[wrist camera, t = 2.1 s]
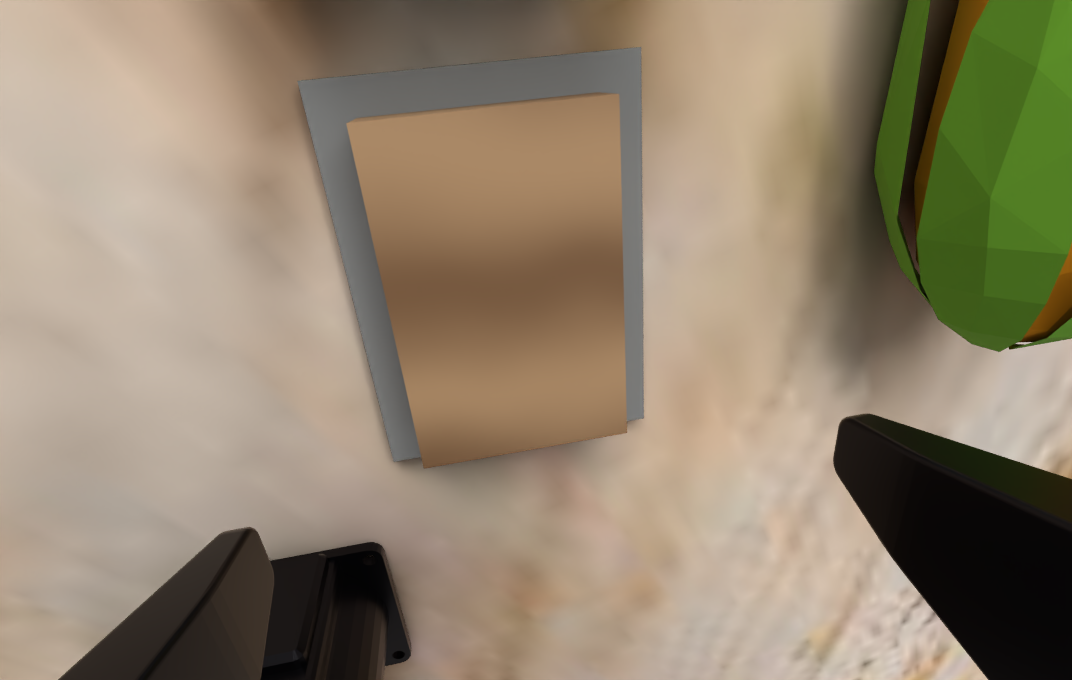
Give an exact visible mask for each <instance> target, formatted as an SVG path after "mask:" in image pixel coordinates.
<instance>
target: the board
mask: <svg viewBox="0 0 1072 680" xmlns="http://www.w3.org/2000/svg"><path fill="white" fill-rule="evenodd" d="M346 124H347V129H348V133H349V138H350V142H351V147H352V151H353V156H354V160H355V164H356V169H357V173H358V178H359V182H360V187H361V191H362V196H363V200H364V204H365V209H366V213H367V218H368V222H369V227H370V231H371V236H372V240H373V245H374V249H375V253H376V258H377V262H378V267H379V271H380V276H381V280H382V285H383V289H384V293H385V298H386V302H387V307H388V311H389V316H390V320H391V325H392V329H393V334H394V338H395V342H396V347H397V351H398V356H399V360H400V365H401V369H402V374H403V378H404V382H405V387H406V391H407V396H408V400H409V405H410V409H411V414H412V418H413V422H414V427H415V431H416V436H417V440H418V445H419V449H420V454H421V458H422V463H423V467H424V468H430V467H436V466H441V465H447V464H453V463H458V462H464V461H470V460H475V459H481V458H487V457H493V456H498V455H504V454H510V453H515V452H521V451H527V450H532V449H538V448H544V447H549V446H555V445H561V444H566V443H572V442H578V441H583V440H589V439H595V438H600V437H606V436H612V435H617V434H623V433H627V409H626V365H625V321H624V278H623V234H622V190H621V147H620V103H619V94H614V93H601V92H596V93H586V94H577V95H567V96H558V97H549V98H539V99H530V100H521V101H511V102H502V103H493V104H483V105H474V106H464V107H455V108H446V109H436V110H427V111H418V112H408V113H399V114H390V115H380V116H371V117H362V118H356V119H354V120H352V121H350V122H348V123H346Z"/></svg>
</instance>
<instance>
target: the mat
mask: <svg viewBox="0 0 1072 680" xmlns="http://www.w3.org/2000/svg"><path fill="white" fill-rule="evenodd" d="M298 85H299V89H300V93H301V97H302V101H303V105H304V109H305V113H306V117H307V121H308V125H309V129H310V133H311V136H312V140H313V144H314V148H315V152H316V156H317V160H318V164H319V168H320V172H321V176H322V180H323V184H324V188H325V192H326V196H327V200H328V204H329V208H330V212H331V216H332V220H333V223H334V227H335V231H336V235H337V239H338V243H339V247H340V251H341V255H342V259H343V263H344V267H345V271H346V275H347V279H348V283H349V287H350V291H351V295H352V299H353V303H354V307H355V310H356V314H357V318H358V322H359V326H360V330H361V334H362V338H363V342H364V346H365V350H366V354H367V358H368V362H369V366H370V370H371V374H372V378H373V382H374V386H375V390H376V394H377V398H378V401H379V405H380V409H381V413H382V417H383V421H384V425H385V429H386V433H387V437H388V441H389V445H390V449H391V453H392V457H393V461H394V462H395V461H401V460H407V459H413V458H418V457H421V454H420V449H419V445H418V440H417V436H416V431H415V427H414V422H413V418H412V414H411V409H410V405H409V400H408V396H407V391H406V387H405V382H404V378H403V374H402V369H401V365H400V360H399V356H398V351H397V347H396V342H395V338H394V334H393V329H392V325H391V320H390V316H389V311H388V307H387V302H386V298H385V293H384V289H383V285H382V280H381V276H380V271H379V267H378V262H377V258H376V253H375V249H374V245H373V240H372V236H371V231H370V227H369V222H368V218H367V213H366V209H365V204H364V200H363V196H362V191H361V187H360V182H359V178H358V173H357V169H356V164H355V160H354V156H353V151H352V147H351V142H350V138H349V133H348V129H347V124H346V123H348V122H350V121H352V120H354V119H356V118H362V117H371V116H380V115H390V114H399V113H408V112H418V111H427V110H436V109H446V108H455V107H464V106H474V105H483V104H493V103H502V102H511V101H521V100H530V99H539V98H549V97H558V96H567V95H577V94H586V93H596V92H601V93H614V94H619V103H620V147H621V190H622V234H623V278H624V321H625V365H626V409H627V421H631V420H637V419H643V418H644V389H643V244H642V100H641V47H636V48H626V49H616V50H606V51H596V52H586V53H575V54H565V55H555V56H545V57H535V58H525V59H514V60H504V61H494V62H484V63H474V64H464V65H454V66H443V67H433V68H423V69H413V70H403V71H393V72H383V73H372V74H362V75H352V76H342V77H332V78H322V79H312V80H301V81H298Z"/></svg>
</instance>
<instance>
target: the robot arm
mask: <svg viewBox="0 0 1072 680" xmlns="http://www.w3.org/2000/svg"><path fill="white" fill-rule="evenodd" d="M833 462H834V468H835V471H836V473H837V475H838V477H839V478H840V480H841V481H842V483H843V484H844V486H845V487H846V489H847V490H848V492H849V493H850V495H851V497H852V498H853V500H854V501H855V503H856V504H857V506H858V507H859V509H860V510H861V512H862V513H863V515H864V516H865V518H866V520H867V521H868V523H869V524H870V526H871V527H872V529H873V530H874V532H875V533H876V535H877V536H878V538H879V540H880V541H881V543H882V544H883V546H884V547H885V548H886V550H887V551H888V553H889V554H890V556H891V557H892V558H893V560H894V561H895V562H896V564H897V565H898V566H899V568H900V569H901V570H902V572H903V573H904V574H905V575H906V577H907V578H908V579H909V580H910V582H911V583H912V584H913V585H914V587H915V588H916V589H917V591H918V592H919V593H920V594H921V596H922V597H923V598H924V599H925V601H926V602H927V603H928V604H929V606H930V607H931V608H932V609H933V611H934V612H935V613H936V614H937V616H938V617H939V618H940V620H941V621H942V622H943V623H944V625H945V626H946V627H947V628H948V630H949V631H950V632H951V633H952V635H953V636H954V637H955V638H956V640H957V641H958V642H959V643H960V645H961V646H962V647H963V648H964V650H965V651H966V652H967V654H968V655H969V656H970V657H971V659H972V660H973V661H974V662H975V664H976V665H977V666H978V667H979V669H980V670H981V671H982V672H983V674H984V675H985V676H986V677H987V679H988V680H1072V479H1069V478H1066V477H1063V476H1060V475H1057V474H1054V473H1051V472H1048V471H1045V470H1042V469H1039V468H1036V467H1032V466H1029V465H1026V464H1023V463H1020V462H1017V461H1014V460H1011V459H1008V458H1005V457H1002V456H999V455H996V454H993V453H989V452H986V451H983V450H980V449H977V448H974V447H971V446H968V445H965V444H962V443H959V442H956V441H953V440H950V439H947V438H943V437H940V436H937V435H934V434H931V433H928V432H925V431H922V430H919V429H916V428H913V427H910V426H907V425H904V424H901V423H897V422H894V421H891V420H888V419H885V418H882V417H879V416H876V415H873V414H860V415H855V416H849V417H846V418H844V419H843V420H842V421H841V422H840V424H839V428H838V434H837V440H836V445H835V451H834V457H833ZM368 555H372V556H374V557H367V556H368ZM410 656H411V642H410V639H409V635H408V632H407V628H406V625H405V621H404V618H403V614H402V611H401V607H400V604H399V600H398V597H397V593H396V590H395V587H394V583H393V580H392V576H391V573H390V569H389V566H388V562H387V559H386V555H385V552H384V549H383V547H382V546H381V545H379V544H378V543H374V542H370V543H363V544H358V545H352V546H347V547H342V548H336V549H331V550H326V551H321V552H315V553H310V554H305V555H299V556H294V557H289V558H283V559H278V560H273V561H270V560H269V558H268V556H267V553H266V551H265V548H264V546H263V544H262V541H261V539H260V536H259V534H258V532H257V531H256V530H255V529H254V528H251V527H246V528H241V529H235V530H230V531H225V532H223V533H221V534H219V535H218V536H217V537H216V538H215V539H214V540H212V541H211V542H210V543H209V544H208V545H207V546H206V547H205V548H204V549H202V550H201V551H200V552H199V553H198V554H197V555H196V556H195V557H194V558H192V559H191V560H190V561H189V562H188V563H187V564H186V565H185V566H184V567H182V568H181V569H180V570H179V571H178V572H177V573H176V574H175V575H174V576H172V577H171V578H170V579H169V580H168V581H167V582H166V583H165V584H164V585H163V586H161V587H160V588H159V589H158V590H157V591H156V592H155V593H154V594H153V595H151V596H150V597H149V598H148V599H147V600H146V601H145V602H144V603H143V604H141V605H140V606H139V607H138V608H137V609H136V610H135V611H134V612H133V613H131V614H130V615H129V616H128V617H127V618H126V619H125V620H124V621H123V622H122V623H120V624H119V625H118V626H117V627H116V628H115V629H114V630H113V631H112V632H110V633H109V634H108V635H107V636H106V637H105V638H104V639H103V640H102V641H100V642H99V643H98V644H97V645H96V646H95V647H94V648H93V649H92V650H90V651H89V652H88V653H87V654H86V655H85V656H84V657H83V658H82V659H80V660H79V661H78V662H77V663H76V664H75V665H74V666H73V667H72V668H71V669H69V670H68V671H67V672H66V673H65V674H64V675H63V676H62V677H61V678H59V679H58V680H384V670H385V666H388V665H392V664H397V663H401V662H404V661H406V660H408V659H409V657H410Z"/></svg>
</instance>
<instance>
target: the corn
mask: <svg viewBox="0 0 1072 680" xmlns="http://www.w3.org/2000/svg"><path fill="white" fill-rule="evenodd" d="M930 1H931V0H908V4H907V9H906V13H905V18H904V22H903V27H902V31H901V36H900V40H899V45H898V50H897V54H896V59H895V63H894V68H893V72H892V77H891V81H890V86H889V91H888V95H887V100H886V104H885V109H884V113H883V118H882V123H881V127H880V132H879V136H878V141H877V148H876V157H875V167H874V175H875V179H876V184H877V188H878V193H879V197H880V201H881V206H882V210H883V215H884V219H885V223H886V228H887V232H888V236H889V241H890V244H891V246H892V248H893V251H894V253H895V256H896V258H897V261H898V263H899V266H900V268H901V270H902V271H903V272H904V274H905V275H906V276H907V277H908V279H909V280H910V281H911V282H912V283H913V285H914V286H915V287H916V288H917V289H918V291H919V292H920V293H921V294H922V296H923V297H924V298H925V299H926V300H927V302H928V303H929V304H930V305H931V306H932V308H933V310H934V312H935V314H936V316H937V318H938V320H940V321H941V322H942V323H944V324H945V325H946V326H948V327H949V328H951V329H952V330H953V331H955V332H956V333H957V334H959V335H960V336H962V337H963V338H964V339H966V340H967V341H968V342H970V343H971V344H974V345H977V346H981V347H984V348H988V349H991V350H995V351H998V352H1000V351H1002V350H1004V349H1006V348H1008V347H1009V350H1010V349H1016V348H1021V347H1027V346H1032V345H1038V344H1044V343H1049V342H1055V341H1060V340H1066V339H1071V338H1072V0H959V4H958V8H957V12H956V16H955V20H954V24H953V28H952V32H951V36H950V40H949V44H948V48H947V52H946V56H945V60H944V64H943V68H942V72H941V76H940V80H939V84H938V88H937V92H936V96H935V100H934V104H933V108H932V112H931V116H930V120H929V124H928V128H927V132H926V136H925V140H924V144H923V148H922V152H921V156H920V160H919V164H918V168H917V172H916V176H915V180H914V187H915V234H916V260H917V263H918V265H919V269H920V275H919V273H918V272H917V270H916V269H915V267H914V263H913V260H912V257H911V254H910V251H909V248H908V245H907V241H906V238H905V235H904V232H903V229H902V226H901V222H900V219H899V216H898V208H899V201H900V195H901V189H902V182H903V176H904V169H905V163H906V156H907V150H908V143H909V137H910V130H911V124H912V117H913V111H914V104H915V98H916V91H917V85H918V78H919V72H920V65H921V59H922V53H923V46H924V40H925V33H926V27H927V20H928V14H929V7H930ZM1017 342H1033V343H1029V344H1026V345H1021V344H1015V343H1017Z"/></svg>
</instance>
